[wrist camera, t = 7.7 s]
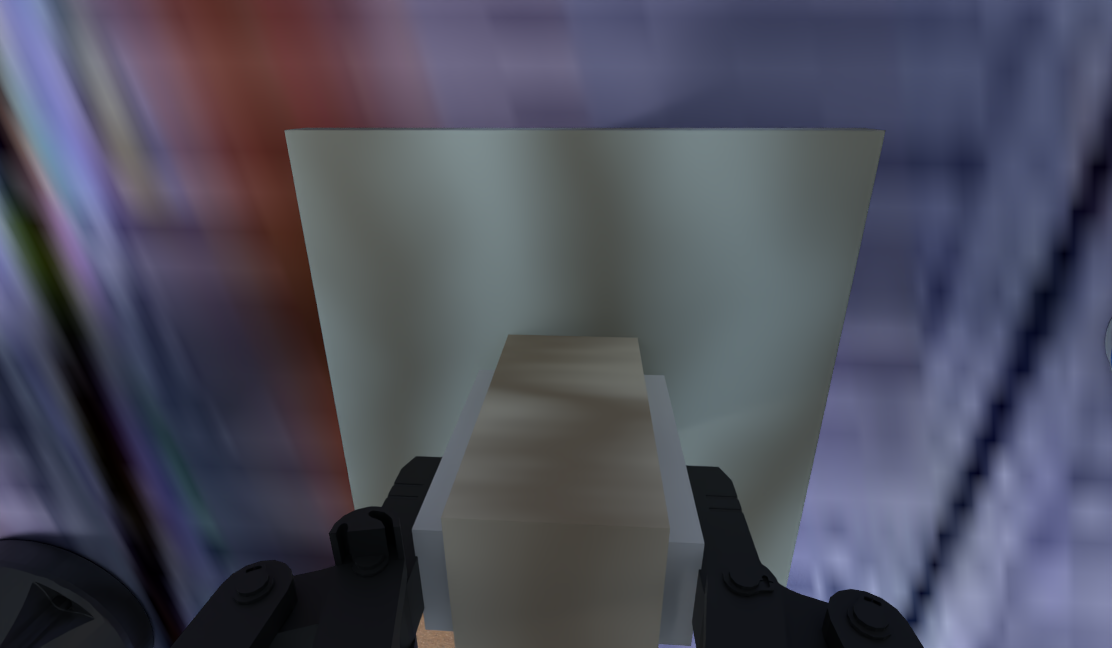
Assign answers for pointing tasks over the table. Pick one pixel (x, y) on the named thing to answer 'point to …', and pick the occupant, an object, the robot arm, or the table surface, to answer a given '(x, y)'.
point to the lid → (581, 341)
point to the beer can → (1109, 343)
